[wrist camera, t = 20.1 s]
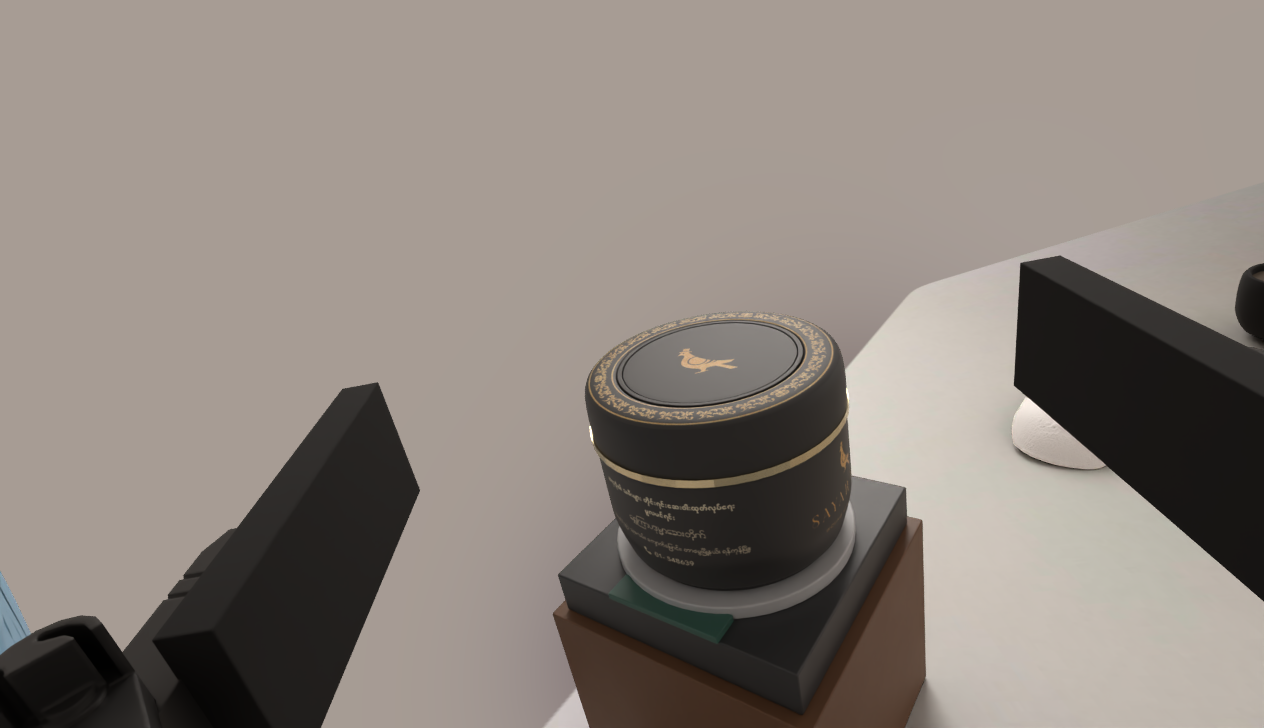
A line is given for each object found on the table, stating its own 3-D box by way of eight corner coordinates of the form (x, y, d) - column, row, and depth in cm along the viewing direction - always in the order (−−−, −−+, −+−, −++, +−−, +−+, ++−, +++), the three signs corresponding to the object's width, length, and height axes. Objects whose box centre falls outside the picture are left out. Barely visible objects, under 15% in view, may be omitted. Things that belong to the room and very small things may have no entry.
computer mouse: (1140, 391, 53) (1143, 364, 52) (1113, 477, 45) (1117, 448, 44) (1039, 378, 58) (1041, 353, 57) (1000, 455, 50) (1001, 427, 49)
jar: (829, 632, 23) (810, 441, 20) (576, 580, 28) (528, 418, 25) (874, 463, 31) (866, 305, 28) (671, 444, 36) (644, 307, 33)
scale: (832, 905, 27) (803, 680, 22) (600, 762, 34) (537, 567, 29) (925, 676, 35) (921, 471, 30) (721, 599, 43) (689, 424, 37)
